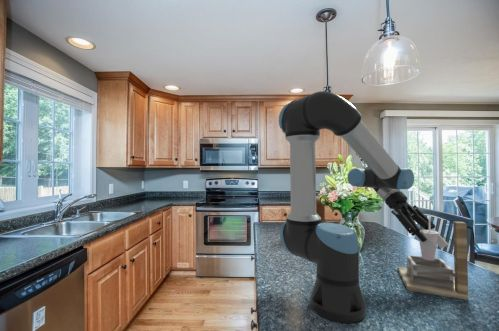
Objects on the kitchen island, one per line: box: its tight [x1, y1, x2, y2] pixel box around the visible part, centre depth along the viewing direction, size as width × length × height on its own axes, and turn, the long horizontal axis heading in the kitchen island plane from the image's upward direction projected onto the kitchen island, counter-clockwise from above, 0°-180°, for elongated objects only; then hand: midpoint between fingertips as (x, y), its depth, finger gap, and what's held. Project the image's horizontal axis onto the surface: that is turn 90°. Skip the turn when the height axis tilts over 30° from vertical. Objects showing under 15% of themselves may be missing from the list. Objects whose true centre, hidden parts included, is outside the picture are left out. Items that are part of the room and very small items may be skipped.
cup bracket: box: [397, 220, 469, 301], centre depth 86 cm, size 18×16×24 cm
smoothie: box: [418, 218, 440, 260], centre depth 87 cm, size 6×6×14 cm
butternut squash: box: [316, 195, 327, 223], centre depth 145 cm, size 14×13×25 cm
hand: (439, 247), depth 83 cm, fingers closed on smoothie, 6 cm apart
